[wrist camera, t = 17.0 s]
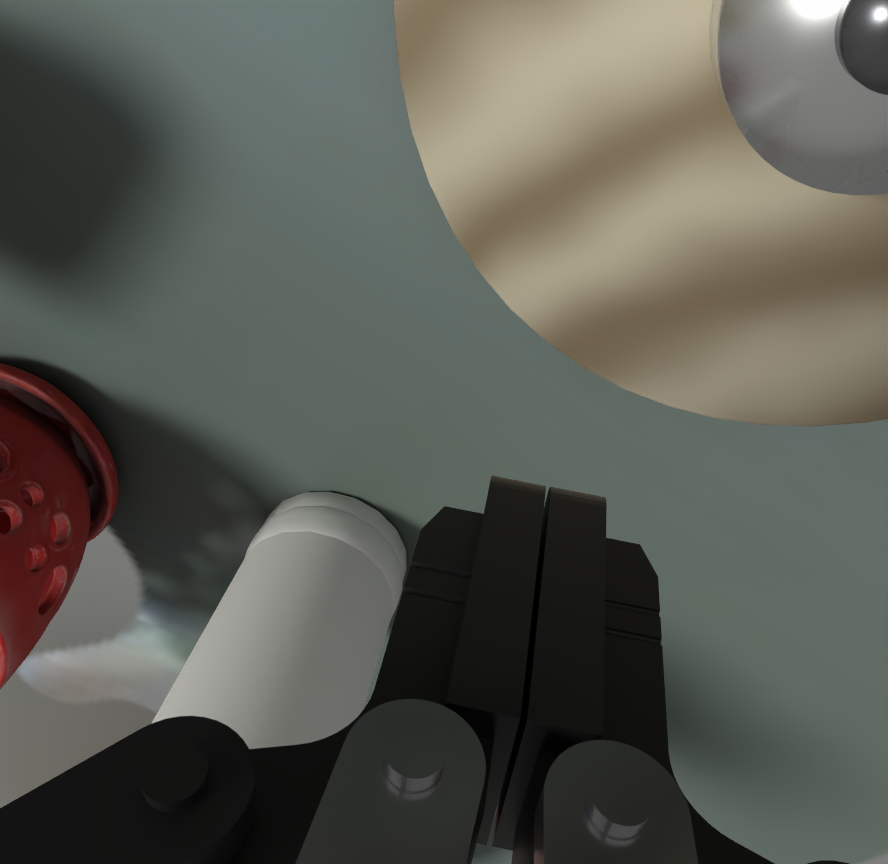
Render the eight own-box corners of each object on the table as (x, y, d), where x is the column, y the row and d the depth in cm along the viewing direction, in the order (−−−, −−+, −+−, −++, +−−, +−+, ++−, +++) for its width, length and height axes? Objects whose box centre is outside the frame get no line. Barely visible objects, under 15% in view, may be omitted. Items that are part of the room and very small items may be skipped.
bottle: (357, 467, 40) (-65, 1397, 15) (437, 580, 43) (196, 1503, 18) (234, 515, 43) (-282, 1350, 18) (316, 618, 46) (-28, 1447, 21)
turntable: (234, -87, 27) (135, -84, 21) (1309, -1246, 14) (1752, -1977, 9) (668, 505, 36) (677, 614, 31) (1535, 125, 24) (1814, 193, 18)
